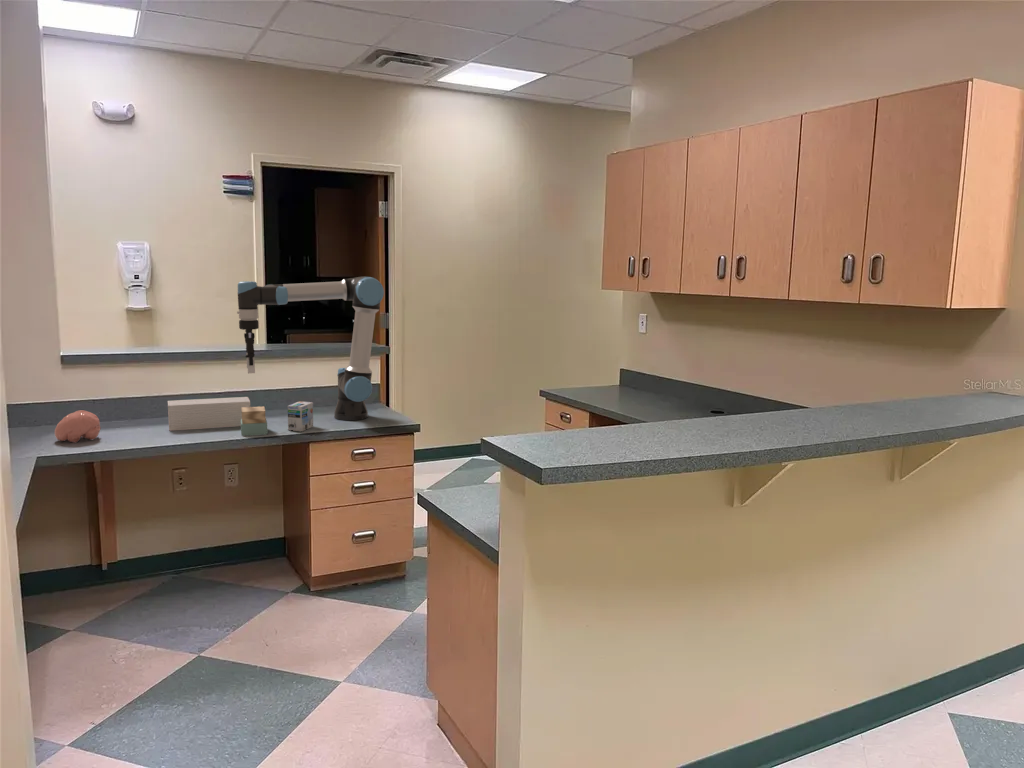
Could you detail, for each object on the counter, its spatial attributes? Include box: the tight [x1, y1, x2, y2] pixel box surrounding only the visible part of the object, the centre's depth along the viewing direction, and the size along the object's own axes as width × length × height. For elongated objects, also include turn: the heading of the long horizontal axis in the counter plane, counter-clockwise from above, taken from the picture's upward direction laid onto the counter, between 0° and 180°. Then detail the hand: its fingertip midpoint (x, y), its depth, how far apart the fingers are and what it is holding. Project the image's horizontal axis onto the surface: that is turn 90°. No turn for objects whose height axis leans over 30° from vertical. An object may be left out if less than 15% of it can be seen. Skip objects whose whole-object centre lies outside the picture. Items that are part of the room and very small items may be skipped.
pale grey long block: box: [167, 396, 252, 432], centre depth 314 cm, size 32×11×11 cm, turn 115°
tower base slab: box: [240, 419, 268, 437], centre depth 305 cm, size 10×10×5 cm
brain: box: [54, 409, 101, 443], centre depth 284 cm, size 16×13×12 cm
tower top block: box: [241, 405, 267, 424], centre depth 304 cm, size 9×9×5 cm
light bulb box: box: [287, 400, 314, 432], centre depth 313 cm, size 11×7×11 cm, turn 168°
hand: (250, 370), depth 305 cm, fingers open, 13 cm apart
